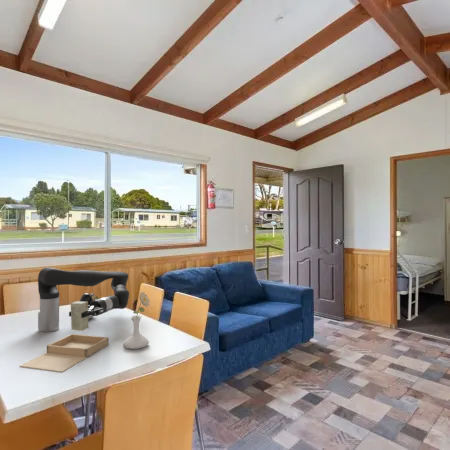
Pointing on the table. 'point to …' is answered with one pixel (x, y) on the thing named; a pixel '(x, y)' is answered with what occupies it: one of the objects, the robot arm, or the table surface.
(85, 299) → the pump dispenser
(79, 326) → the skincare box
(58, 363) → the box
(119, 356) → the table surface
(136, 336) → the flower in vase
